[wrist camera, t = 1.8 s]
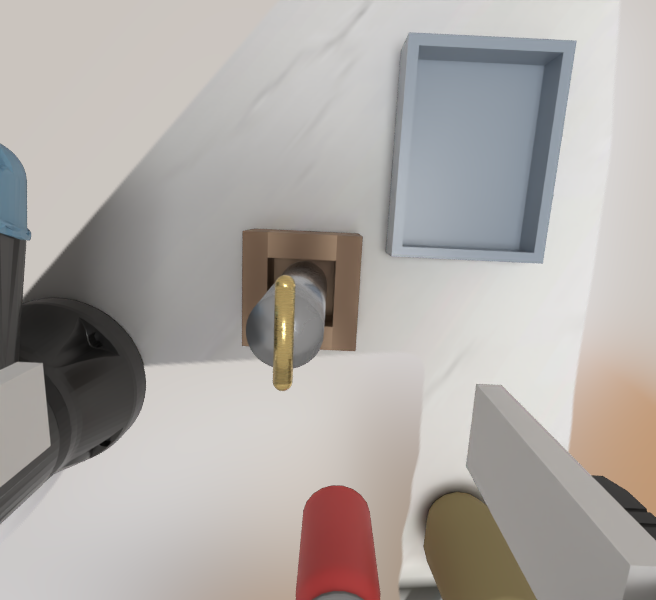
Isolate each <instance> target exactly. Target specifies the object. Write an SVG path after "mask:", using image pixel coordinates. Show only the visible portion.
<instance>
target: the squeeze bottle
mask: <svg viewBox="0 0 656 600" xmlns="http://www.w3.org/2000/svg"><path fill="white" fill-rule="evenodd" d="M424 551H425V555H426V559H427V562H428V565H429V567H430V570H431V572H432V574H433V577H434V579H435V582H436V584H437V587H438V589H439V592H440V594H441V597H442V599H443V600H537V599H536V597H535V595H534V593H533V591H532V589H531V587H530V585H529V584H528V582H527V580H526V578H525V576H524V574H523V572H522V570H521V568H520V567H519V565H518V563H517V561H516V559H515V557H514V555H513V553H512V552H511V550H510V548H509V546H508V544H507V542H506V540H505V538H504V536H503V535H502V533H501V531H500V529H499V527H498V525H497V523H496V521H495V520H494V518H493V516H492V514H491V512H490V510H489V508H488V506H487V505H485V504H484V503H483V502H482V501H480V500H479V499H478V498H476V497H474V496H472V495H470V494H469V493H461V492H454V493H450V494H445V495H444V496H442V497H441V498H439V499H437V500H436V501H435V502H434V504H433V505H432V506H431V508H430V509H429V513H428V517H427V524H426V531H425V539H424Z"/></svg>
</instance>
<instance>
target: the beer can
mask: <svg viewBox="0 0 656 600" xmlns="http://www.w3.org/2000/svg"><path fill="white" fill-rule="evenodd" d="M296 600H380V588H379V580H378V572H377V565H376V557H375V549H374V542H373V533H372V526H371V518H370V511H369V508H368V505H367V502H366V501H365V500H364V499H363V497H362V496H361V495H360V494H359V493H357V492H356V491H355V490H353V489H351V488H348V487H345V486H328V487H325V488H322V489H320V490H318V491H317V492H315V493H314V494H313V495H312V496H311V497H310V499H309V500H308V501H307V502H306V505H305V508H304V510H303V521H302V532H301V542H300V553H299V564H298V576H297V586H296Z"/></svg>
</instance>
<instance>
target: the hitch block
mask: <svg viewBox="0 0 656 600" xmlns="http://www.w3.org/2000/svg"><path fill="white" fill-rule="evenodd" d="M362 239H363V237H362V236H361V235H360V234H356V233H335V232H314V231H293V230H272V229H250V230H245V231H243V256H242V346H249V344H248V341H247V337H246V324H247V320H248V317H249V315H250V313H251V311H252V310H253V308H254V307H255V306H256V305H257V303H258V302H259V301H260V300H261V299H262V297H263V296H264V295H265V294H266V293H267V291H268V290H269V289H270V288H271V287H272V285H273V284H274V283H275V282H276V280H277V279H278V278H279V277H280V276H281V275H282V274H283V272H284V271H285V270H286V269H287V268H288V267H289V266H290V265H292V264H294V263H296V262H300V261H308V262H311V263H314V264H316V265H317V266H319V267H320V268H321V269H322V271H323V272H324V274H325V276H326V279H327V293H326V309H325V324H324V337H323V342H322V345H321V347H320V350H341V351H355V350H356V334H357V318H358V302H359V286H360V271H361V255H362Z"/></svg>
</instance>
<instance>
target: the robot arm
mask: <svg viewBox="0 0 656 600" xmlns="http://www.w3.org/2000/svg"><path fill="white" fill-rule="evenodd" d="M30 239H31V232H30V230H29V229H28V228H27V179H26V173H25V170H24V167H23V165H22V164H21V162H20V161H19V159H18V158H17V157H16V156H15V154H14V153H13V152H11V151H10V150H9V149H8V148H6V147H5V146H3V145H2V144H0V524H1V523H2V522H3V521H4V520H5V519H6V518H7V517H9V516H10V515H11V514H12V513H13V512H14V511H15V510H16V509H17V508H18V507H19V506H20V505H21V504H22V503H23V502H24V501H25V500H27V499H28V498H29V497H30V496H31V495H32V494H33V493H34V492H35V491H36V490H37V489H38V488H39V487H40V486H41V485H42V484H43V483H44V482H45V481H46V480H47V479H49V478H50V477H51V476H52V475H53V474H55V473H57V472H59V471H62V470H64V469H66V468H69V467H71V466H73V465H76V464H78V463H80V462H83V461H85V460H87V459H89V458H92V457H94V456H96V455H98V454H100V453H102V452H103V451H105V450H106V449H108V448H109V447H110V446H112V445H113V444H114V443H115V442H116V441H118V439H119V438H120V437H121V436H122V435H123V434H124V433H125V432H126V431H127V430H128V429H129V428H130V427H131V425H132V424H133V423H134V421H135V420H136V418H137V417H138V415H139V413H140V410H141V408H142V405H143V402H144V398H145V391H146V378H145V371H144V366H143V363H142V359H141V357H140V354H139V352H138V350H137V348H136V346H135V344H134V343H133V341H132V340H131V338H130V337H129V336H128V334H127V333H126V332H125V331H124V330H123V328H122V327H121V326H120V325H119V324H118V323H116V322H115V321H114V320H113V319H112V318H110V317H109V316H108V315H106V314H105V313H103V312H102V311H100V310H98V309H96V308H94V307H92V306H90V305H87V304H85V303H82V302H78V301H75V300H70V299H63V298H44V299H38V300H33V301H30V302H27V303H23V304H22V298H23V282H24V267H25V251H26V240H30ZM466 467H467V469H468V471H469V472H470V474H471V476H472V478H473V480H474V482H475V484H476V486H477V488H478V489H479V491H480V493H481V495H482V497H483V499H484V501H485V503H486V504H487V506H488V508H489V510H490V512H491V514H492V516H493V518H494V520H495V521H496V523H497V525H498V527H499V529H500V531H501V533H502V535H503V536H504V538H505V540H506V542H507V544H508V546H509V548H510V550H511V552H512V553H513V555H514V557H515V559H516V561H517V563H518V565H519V567H520V568H521V570H522V572H523V574H524V576H525V578H526V580H527V582H528V584H529V585H530V587H531V589H532V591H533V593H534V595H535V597H536V599H537V600H656V517H655V516H654V515H652V514H651V513H648V512H647V509H646V508H645V507H644V506H643V505H642V504H640V502H638V500H636V499H635V498H634V497H633V496H632V495H631V494H630V493H629V492H628V491H626V490H625V489H623V488H622V487H620V486H618V485H617V484H615V483H613V482H612V481H610V480H608V479H607V478H605V477H603V476H592V475H590V474H589V473H588V472H587V471H586V470H585V469H584V468H583V467H582V466H581V465H580V464H579V463H578V462H577V461H576V460H575V459H574V458H573V457H572V456H571V455H570V454H569V453H568V452H567V451H566V450H565V449H564V448H563V447H562V446H561V445H560V443H559V442H558V441H557V440H556V439H555V438H554V437H553V436H552V435H551V434H550V433H549V432H548V431H547V430H546V429H545V428H544V427H543V426H542V425H541V424H540V423H539V422H538V421H537V420H536V419H535V418H534V417H533V416H532V415H531V414H530V413H529V412H528V411H527V410H526V409H525V408H524V407H523V406H522V405H521V404H520V403H519V402H518V401H517V400H516V399H515V398H514V397H513V396H512V395H511V394H510V393H509V392H508V391H507V390H506V389H505V388H504V387H503V386H502V385H487V384H476V391H475V399H474V407H473V415H472V422H471V430H470V438H469V446H468V454H467V462H466Z"/></svg>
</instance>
